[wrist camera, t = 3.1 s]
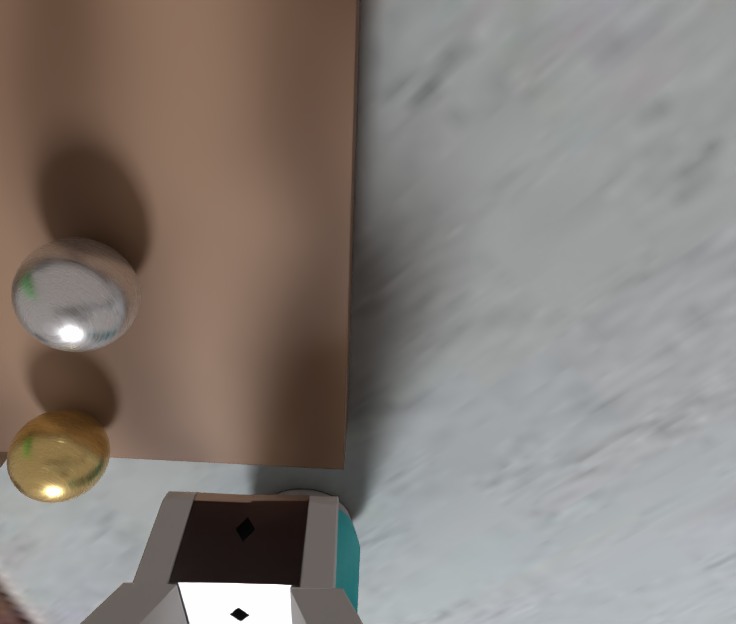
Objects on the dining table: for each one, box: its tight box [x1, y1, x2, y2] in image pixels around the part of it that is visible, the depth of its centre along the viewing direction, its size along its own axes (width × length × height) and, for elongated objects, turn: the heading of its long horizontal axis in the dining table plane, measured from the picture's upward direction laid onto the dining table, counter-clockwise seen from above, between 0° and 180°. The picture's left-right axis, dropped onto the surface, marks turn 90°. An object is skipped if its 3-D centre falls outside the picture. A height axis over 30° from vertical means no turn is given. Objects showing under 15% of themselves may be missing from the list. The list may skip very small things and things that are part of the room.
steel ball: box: [11, 238, 140, 352], centre depth 15 cm, size 3×3×3 cm
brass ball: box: [7, 409, 110, 503], centre depth 19 cm, size 3×3×3 cm
